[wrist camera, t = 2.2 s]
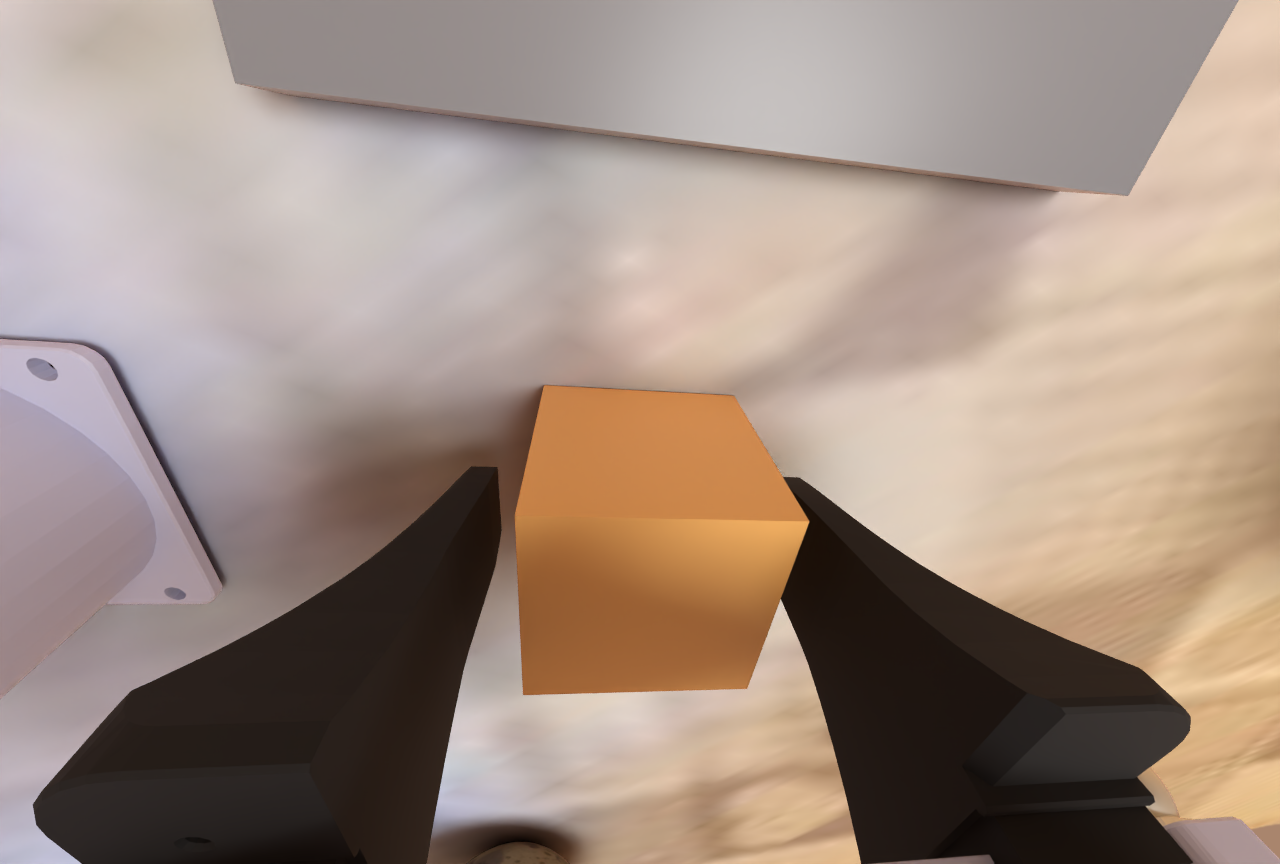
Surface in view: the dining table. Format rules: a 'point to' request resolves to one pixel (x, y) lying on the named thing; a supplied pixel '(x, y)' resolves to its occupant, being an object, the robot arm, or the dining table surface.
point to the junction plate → (768, 74)
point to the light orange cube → (648, 543)
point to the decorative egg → (519, 855)
